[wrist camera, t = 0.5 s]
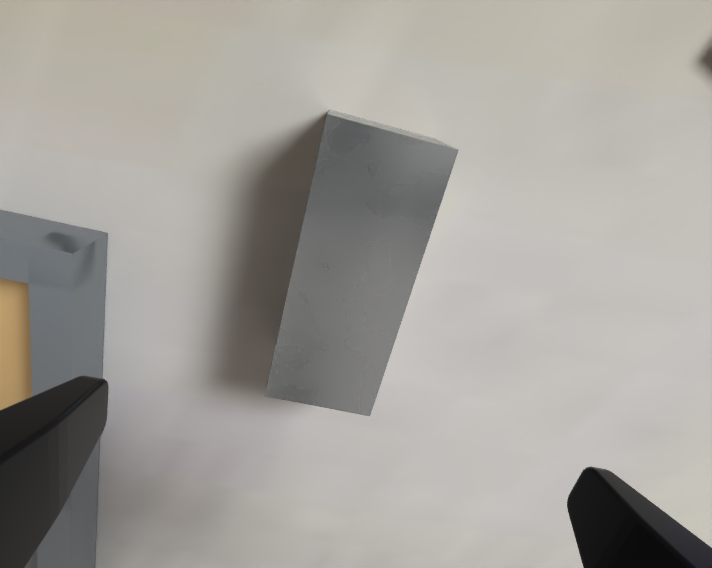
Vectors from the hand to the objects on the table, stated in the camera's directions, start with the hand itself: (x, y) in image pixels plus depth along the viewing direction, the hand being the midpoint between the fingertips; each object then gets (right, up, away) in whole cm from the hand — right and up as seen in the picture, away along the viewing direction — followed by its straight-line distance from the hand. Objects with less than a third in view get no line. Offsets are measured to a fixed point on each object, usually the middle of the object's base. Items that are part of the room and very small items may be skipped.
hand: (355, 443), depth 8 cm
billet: (0, +4, +10) cm, 11 cm away
